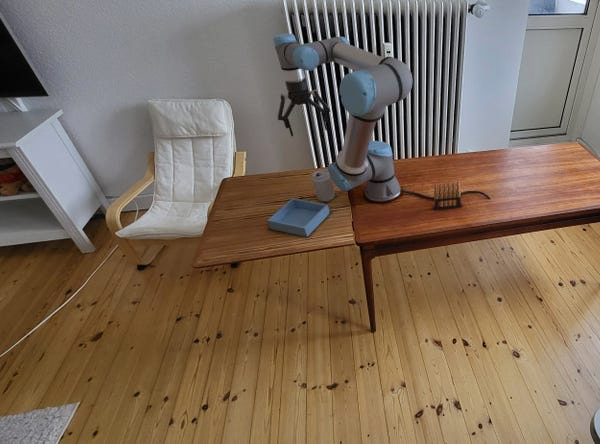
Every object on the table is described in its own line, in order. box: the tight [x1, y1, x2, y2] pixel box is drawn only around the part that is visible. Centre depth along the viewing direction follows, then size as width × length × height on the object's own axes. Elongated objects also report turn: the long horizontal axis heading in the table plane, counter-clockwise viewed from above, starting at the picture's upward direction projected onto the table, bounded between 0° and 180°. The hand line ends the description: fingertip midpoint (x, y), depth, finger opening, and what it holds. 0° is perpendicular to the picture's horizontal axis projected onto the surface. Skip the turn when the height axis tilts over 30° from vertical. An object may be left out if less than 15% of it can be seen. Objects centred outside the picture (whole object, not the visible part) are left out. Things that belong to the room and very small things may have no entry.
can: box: [311, 169, 336, 203], centre depth 156 cm, size 8×8×12 cm
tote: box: [267, 197, 331, 238], centre depth 146 cm, size 17×16×4 cm
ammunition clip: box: [433, 181, 462, 211], centre depth 148 cm, size 11×2×12 cm, turn 98°
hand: (309, 132), depth 154 cm, fingers open, 13 cm apart
